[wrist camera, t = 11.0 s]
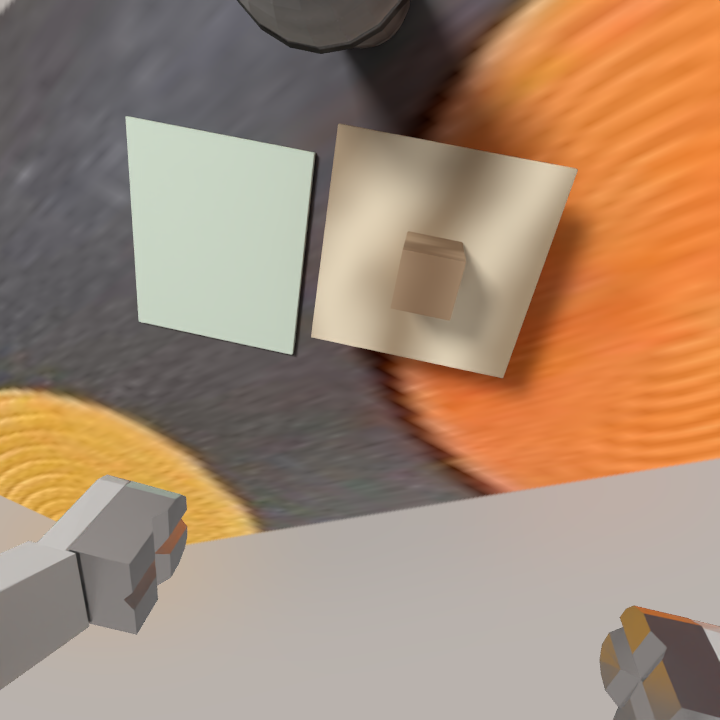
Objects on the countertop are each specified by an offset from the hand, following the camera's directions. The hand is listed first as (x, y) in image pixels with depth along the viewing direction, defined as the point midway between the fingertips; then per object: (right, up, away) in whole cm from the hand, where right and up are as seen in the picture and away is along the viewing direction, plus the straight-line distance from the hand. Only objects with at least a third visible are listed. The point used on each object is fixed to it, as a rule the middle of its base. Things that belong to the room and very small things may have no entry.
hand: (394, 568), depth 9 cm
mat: (-10, +12, +24) cm, 29 cm away
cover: (+3, +10, +18) cm, 21 cm away
